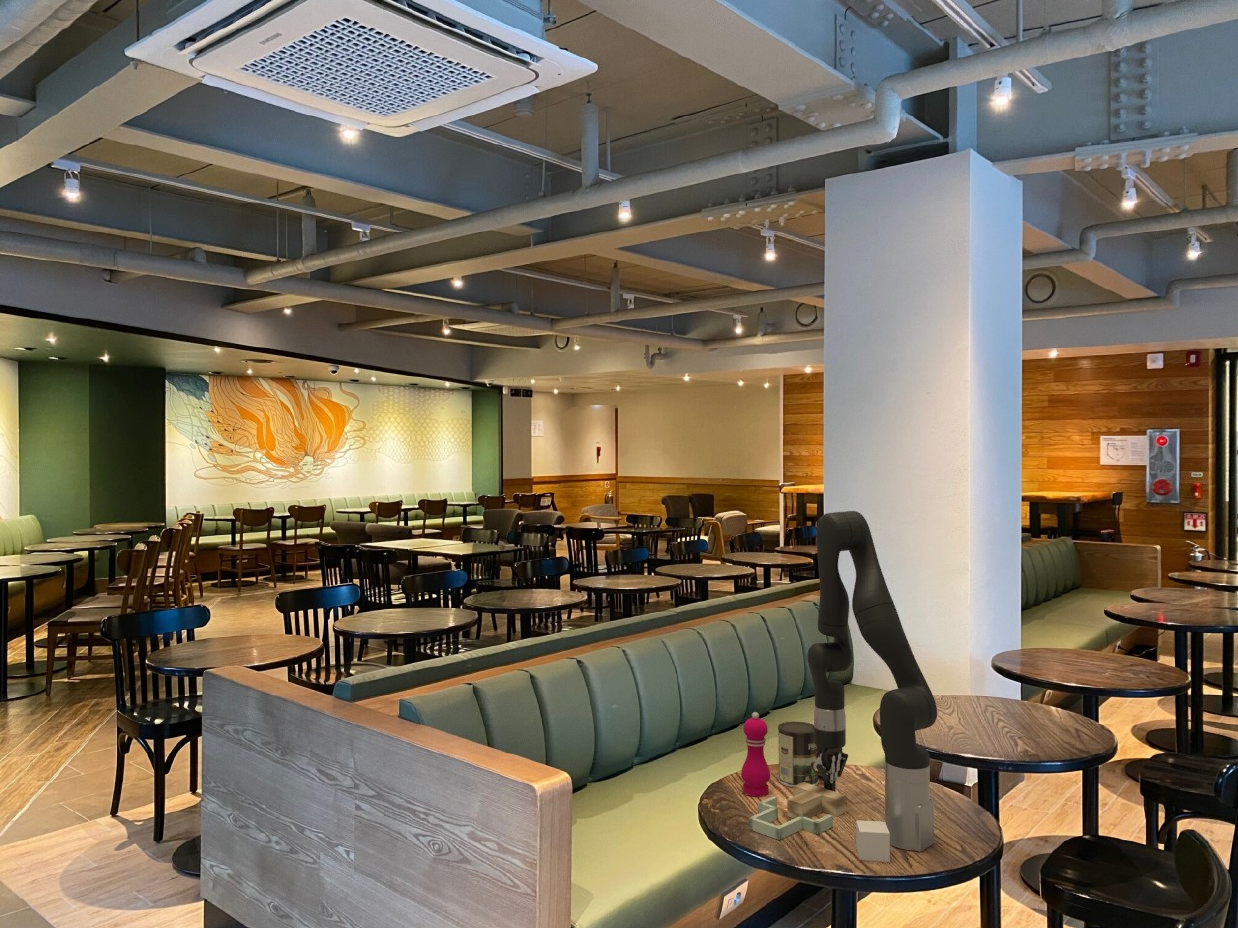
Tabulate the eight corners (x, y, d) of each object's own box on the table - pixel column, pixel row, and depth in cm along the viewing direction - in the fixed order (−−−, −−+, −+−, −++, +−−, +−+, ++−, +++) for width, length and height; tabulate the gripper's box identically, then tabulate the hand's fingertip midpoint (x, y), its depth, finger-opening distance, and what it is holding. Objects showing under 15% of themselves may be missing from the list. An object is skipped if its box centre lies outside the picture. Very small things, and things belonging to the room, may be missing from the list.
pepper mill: (767, 798, 217) (767, 717, 217) (738, 795, 220) (738, 714, 220) (772, 788, 224) (772, 709, 224) (744, 785, 226) (743, 707, 226)
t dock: (832, 826, 201) (832, 815, 201) (794, 845, 190) (794, 834, 190) (773, 806, 212) (773, 796, 212) (734, 823, 202) (734, 812, 202)
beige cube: (859, 860, 183) (859, 831, 184) (856, 848, 189) (855, 820, 189) (889, 862, 183) (889, 832, 183) (885, 849, 189) (884, 821, 189)
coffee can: (823, 778, 231) (823, 724, 231) (811, 791, 222) (811, 734, 222) (785, 771, 236) (785, 718, 236) (772, 783, 227) (772, 729, 227)
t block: (846, 812, 209) (846, 795, 209) (816, 826, 201) (816, 808, 201) (803, 798, 218) (803, 781, 218) (773, 811, 210) (773, 794, 210)
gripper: (827, 734, 207) (827, 808, 207) (858, 722, 216) (858, 793, 216) (800, 727, 213) (800, 799, 213) (831, 716, 222) (832, 785, 222)
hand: (829, 796), depth 215 cm, fingers closed
